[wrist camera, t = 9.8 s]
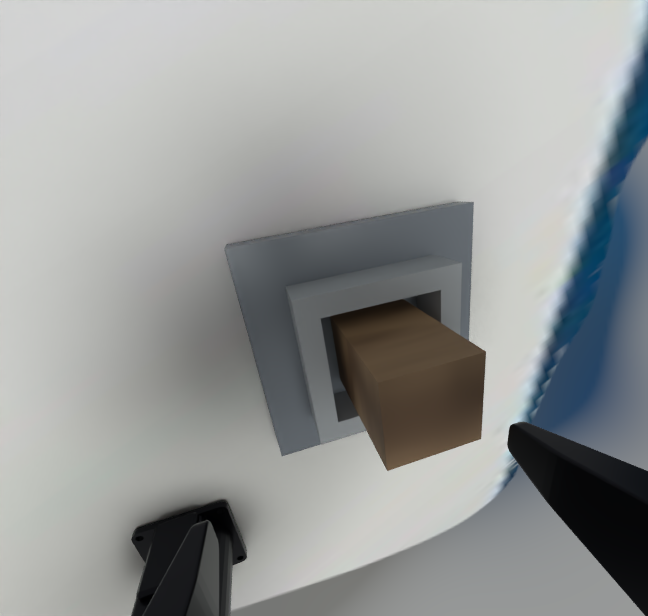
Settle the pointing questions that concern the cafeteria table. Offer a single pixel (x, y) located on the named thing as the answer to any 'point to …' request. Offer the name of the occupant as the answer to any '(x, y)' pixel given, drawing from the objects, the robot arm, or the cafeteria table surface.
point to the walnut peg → (409, 380)
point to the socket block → (342, 304)
